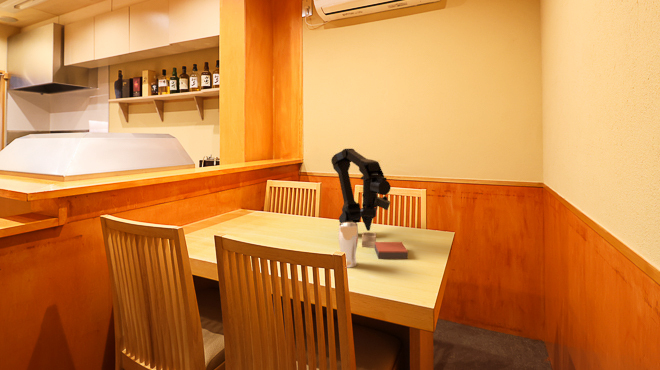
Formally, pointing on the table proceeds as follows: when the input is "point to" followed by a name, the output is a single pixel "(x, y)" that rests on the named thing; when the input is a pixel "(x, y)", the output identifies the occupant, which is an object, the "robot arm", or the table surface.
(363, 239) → the masu
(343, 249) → the beer glass
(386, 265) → the table surface
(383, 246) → the red square block
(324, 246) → the table surface
